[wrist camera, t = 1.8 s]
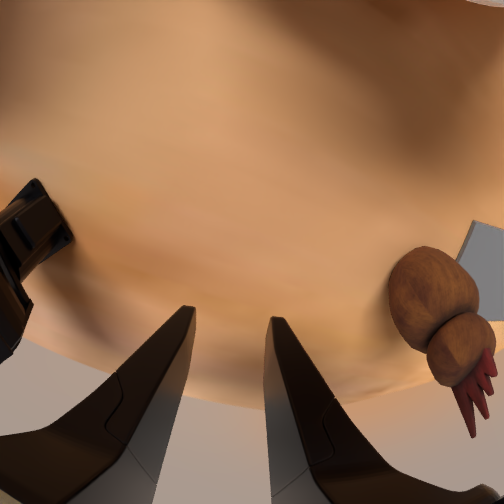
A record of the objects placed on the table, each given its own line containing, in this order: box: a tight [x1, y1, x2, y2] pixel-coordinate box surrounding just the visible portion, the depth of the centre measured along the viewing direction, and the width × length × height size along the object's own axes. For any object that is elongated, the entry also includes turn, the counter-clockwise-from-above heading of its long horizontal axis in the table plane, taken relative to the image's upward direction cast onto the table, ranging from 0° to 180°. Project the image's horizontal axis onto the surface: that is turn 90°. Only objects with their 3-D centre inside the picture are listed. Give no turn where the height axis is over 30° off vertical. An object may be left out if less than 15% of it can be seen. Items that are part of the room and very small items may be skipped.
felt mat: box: [456, 220, 504, 321], centre depth 22 cm, size 16×11×1 cm
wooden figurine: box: [389, 246, 498, 438], centre depth 16 cm, size 7×6×15 cm
